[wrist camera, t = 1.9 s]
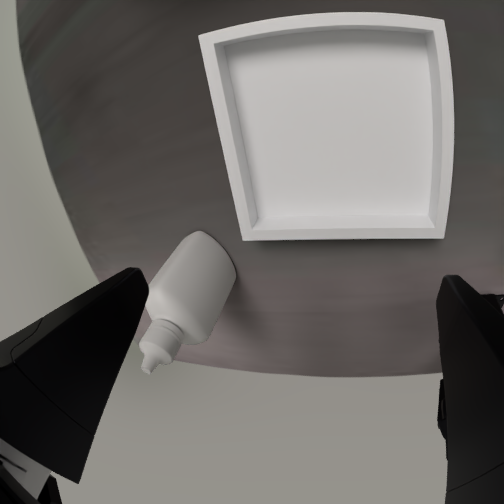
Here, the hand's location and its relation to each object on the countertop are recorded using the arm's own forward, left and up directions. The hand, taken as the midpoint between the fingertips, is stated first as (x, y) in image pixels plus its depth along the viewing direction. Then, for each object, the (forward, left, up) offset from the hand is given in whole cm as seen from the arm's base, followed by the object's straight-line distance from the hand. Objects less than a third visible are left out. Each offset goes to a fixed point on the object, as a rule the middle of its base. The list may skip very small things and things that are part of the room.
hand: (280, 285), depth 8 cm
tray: (+2, -2, -13) cm, 13 cm away
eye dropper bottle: (-8, +9, -13) cm, 18 cm away
